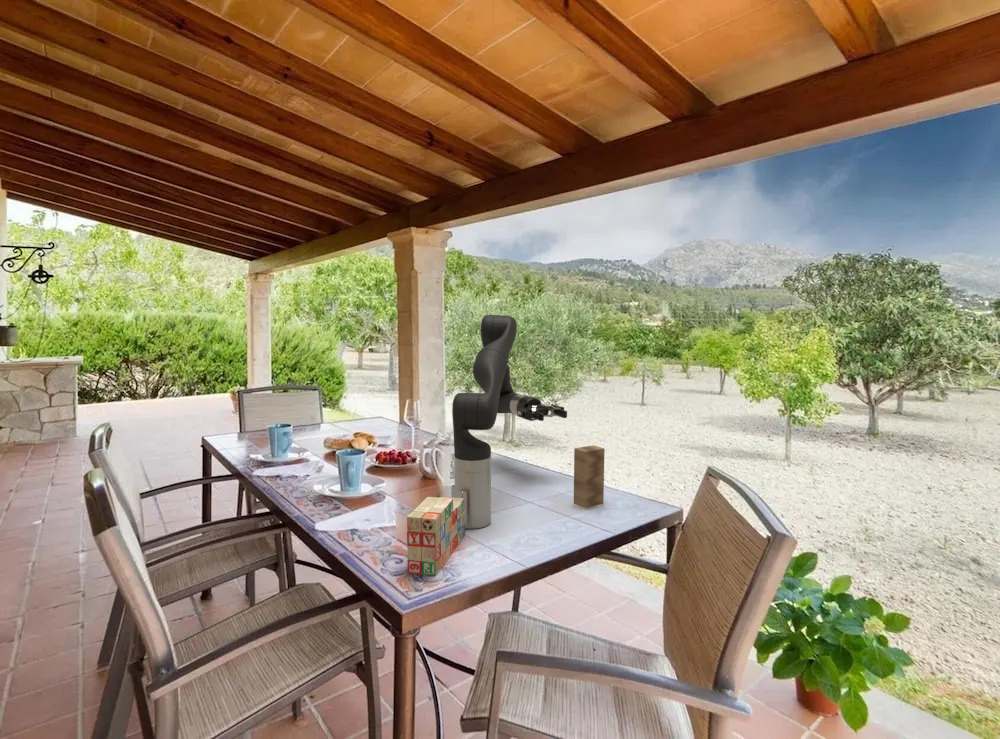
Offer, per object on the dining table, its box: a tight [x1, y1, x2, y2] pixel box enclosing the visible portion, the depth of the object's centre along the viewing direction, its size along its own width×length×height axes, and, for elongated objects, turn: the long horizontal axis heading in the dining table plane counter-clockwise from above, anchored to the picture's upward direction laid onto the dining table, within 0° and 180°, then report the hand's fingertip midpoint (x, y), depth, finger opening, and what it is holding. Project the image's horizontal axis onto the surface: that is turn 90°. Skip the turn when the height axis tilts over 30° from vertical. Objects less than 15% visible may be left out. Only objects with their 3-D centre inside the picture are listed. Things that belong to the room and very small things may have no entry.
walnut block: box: [573, 445, 606, 510], centre depth 150 cm, size 7×4×16 cm, turn 121°
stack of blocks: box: [406, 496, 466, 577], centre depth 120 cm, size 21×6×12 cm, turn 168°
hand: (554, 416), depth 163 cm, fingers open, 8 cm apart
